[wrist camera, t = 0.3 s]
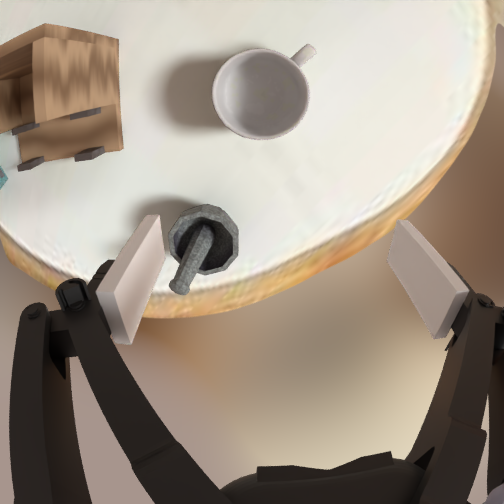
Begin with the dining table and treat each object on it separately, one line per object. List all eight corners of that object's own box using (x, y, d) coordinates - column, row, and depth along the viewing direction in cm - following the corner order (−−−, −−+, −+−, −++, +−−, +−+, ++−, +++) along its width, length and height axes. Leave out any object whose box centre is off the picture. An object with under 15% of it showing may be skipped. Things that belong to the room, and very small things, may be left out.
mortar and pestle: (201, 181, 43) (185, 214, 32) (252, 216, 46) (253, 258, 35) (164, 236, 47) (142, 280, 37) (212, 265, 50) (203, 314, 40)
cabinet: (19, 71, 31) (-59, 85, 15) (118, 39, 31) (45, 23, 16) (27, 163, 40) (-43, 205, 24) (123, 148, 40) (57, 190, 24)
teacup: (249, 145, 40) (249, 158, 33) (202, 84, 36) (191, 84, 29) (333, 93, 36) (351, 95, 29) (288, 30, 31) (297, 17, 25)
